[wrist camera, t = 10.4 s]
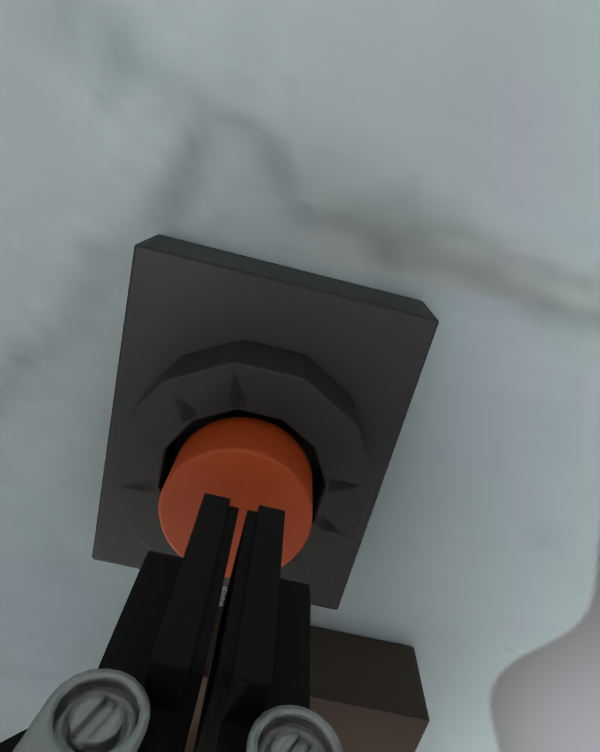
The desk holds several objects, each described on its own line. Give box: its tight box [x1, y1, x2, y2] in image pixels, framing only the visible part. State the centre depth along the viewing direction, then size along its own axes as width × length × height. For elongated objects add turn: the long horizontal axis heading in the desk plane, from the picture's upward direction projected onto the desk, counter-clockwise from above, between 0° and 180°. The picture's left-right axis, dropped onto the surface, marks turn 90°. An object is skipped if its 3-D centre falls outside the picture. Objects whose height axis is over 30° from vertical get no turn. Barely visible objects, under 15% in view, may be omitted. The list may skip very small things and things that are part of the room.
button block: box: [92, 235, 439, 609], centre depth 16 cm, size 10×8×4 cm
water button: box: [158, 417, 313, 578], centre depth 13 cm, size 4×4×2 cm
